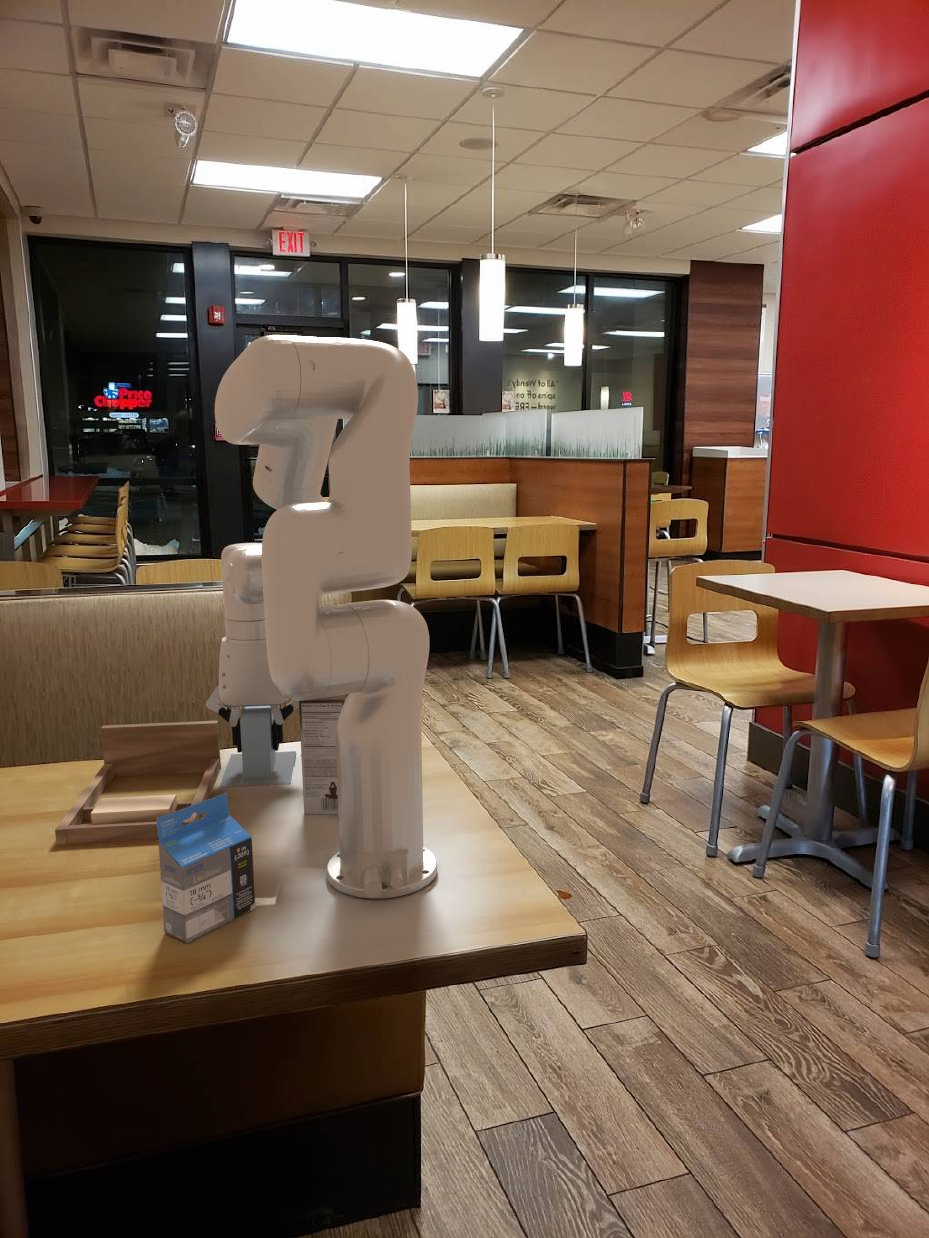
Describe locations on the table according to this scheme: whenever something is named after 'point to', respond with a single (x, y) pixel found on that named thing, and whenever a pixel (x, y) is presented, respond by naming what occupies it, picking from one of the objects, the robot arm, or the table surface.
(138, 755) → the rack
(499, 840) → the table surface
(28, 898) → the table surface
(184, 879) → the label tape cartridge
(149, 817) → the slab top
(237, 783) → the mat
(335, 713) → the coffee box
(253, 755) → the pale blue upright prism
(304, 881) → the table surface
